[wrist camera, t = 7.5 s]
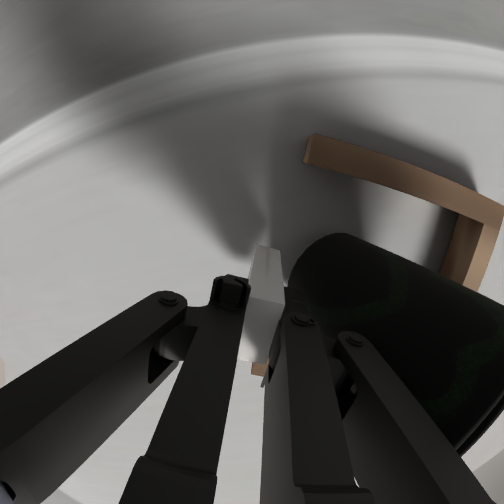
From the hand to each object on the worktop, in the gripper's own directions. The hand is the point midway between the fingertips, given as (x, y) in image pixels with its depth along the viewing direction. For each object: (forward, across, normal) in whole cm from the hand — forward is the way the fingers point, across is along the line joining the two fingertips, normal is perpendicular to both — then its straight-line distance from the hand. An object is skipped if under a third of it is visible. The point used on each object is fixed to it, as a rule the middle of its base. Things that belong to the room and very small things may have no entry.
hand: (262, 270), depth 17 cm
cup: (+1, +4, 0) cm, 4 cm away
